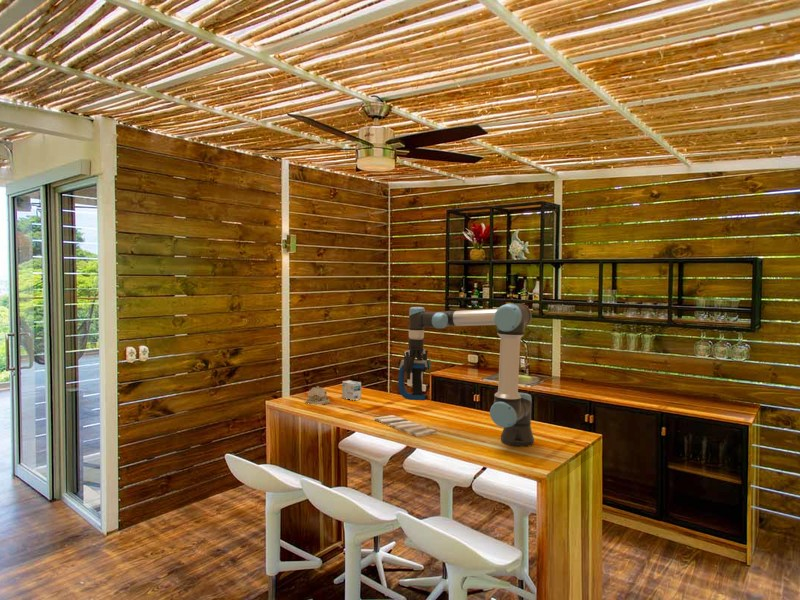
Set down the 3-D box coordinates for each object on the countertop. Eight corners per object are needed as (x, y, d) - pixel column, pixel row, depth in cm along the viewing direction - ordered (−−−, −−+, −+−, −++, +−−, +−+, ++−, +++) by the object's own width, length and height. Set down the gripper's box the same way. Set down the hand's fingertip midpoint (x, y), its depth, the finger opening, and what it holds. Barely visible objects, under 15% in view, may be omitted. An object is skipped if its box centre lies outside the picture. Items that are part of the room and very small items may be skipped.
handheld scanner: (429, 400, 260) (429, 360, 260) (397, 399, 264) (397, 359, 265) (431, 399, 265) (431, 359, 265) (400, 397, 269) (400, 358, 269)
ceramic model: (303, 404, 314) (303, 387, 314) (308, 400, 325) (309, 384, 325) (326, 405, 312) (327, 388, 312) (331, 401, 323) (331, 385, 323)
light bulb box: (361, 399, 330) (361, 382, 330) (353, 401, 325) (353, 383, 324) (349, 396, 337) (349, 379, 337) (341, 398, 332) (341, 381, 332)
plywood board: (436, 433, 261) (436, 430, 260) (416, 437, 253) (417, 434, 253) (392, 417, 289) (392, 414, 289) (374, 420, 282) (374, 417, 282)
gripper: (426, 336, 272) (425, 382, 273) (396, 338, 261) (395, 385, 262) (435, 338, 266) (434, 384, 267) (405, 340, 255) (404, 388, 256)
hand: (414, 385), depth 264 cm, fingers closed on handheld scanner, 6 cm apart
